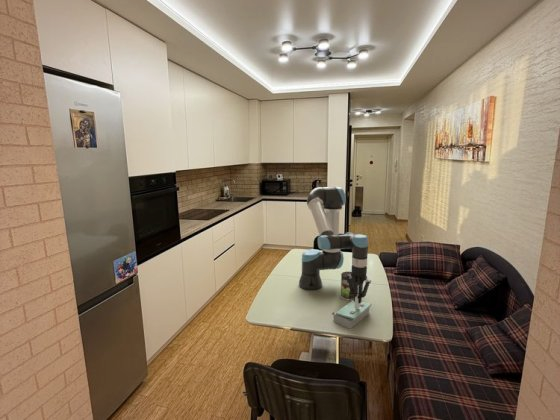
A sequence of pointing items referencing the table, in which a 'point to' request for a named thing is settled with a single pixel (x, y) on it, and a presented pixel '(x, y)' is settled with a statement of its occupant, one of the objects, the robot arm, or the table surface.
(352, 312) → the cover
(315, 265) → the robot arm
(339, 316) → the white lidded box
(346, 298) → the coffee can
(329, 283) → the table surface
